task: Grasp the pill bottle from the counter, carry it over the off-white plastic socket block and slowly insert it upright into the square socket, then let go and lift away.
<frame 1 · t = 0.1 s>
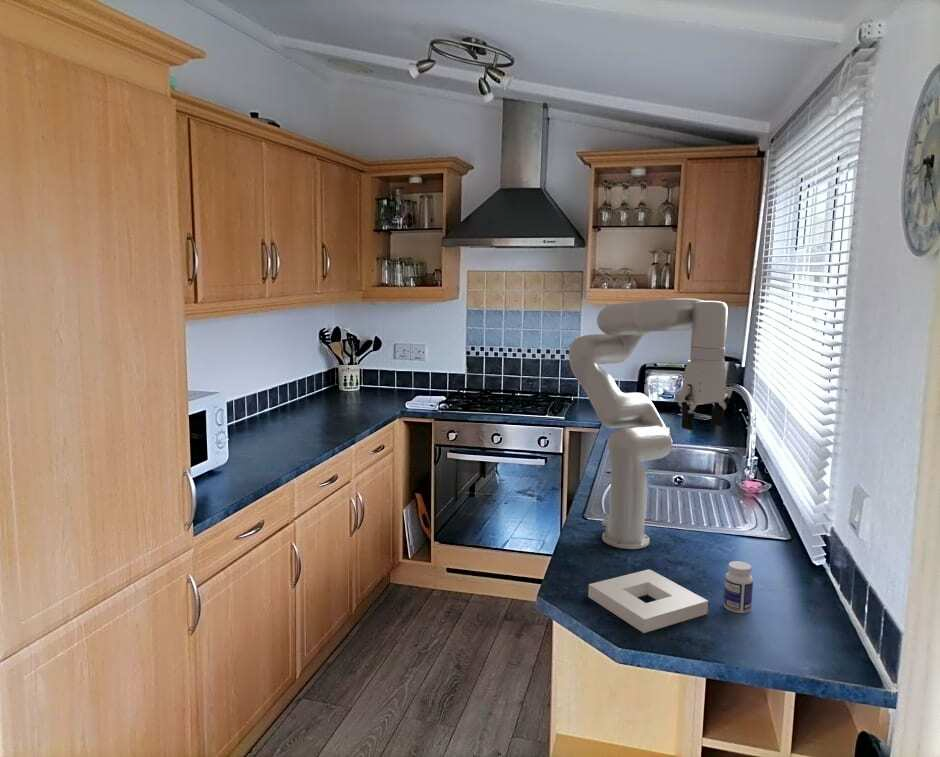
hand: (702, 427, 166), 37 cm above the worktop, fingers open, 9 cm apart
pill bottle: (736, 608, 155), on the worktop
socket block: (646, 605, 156), on the worktop
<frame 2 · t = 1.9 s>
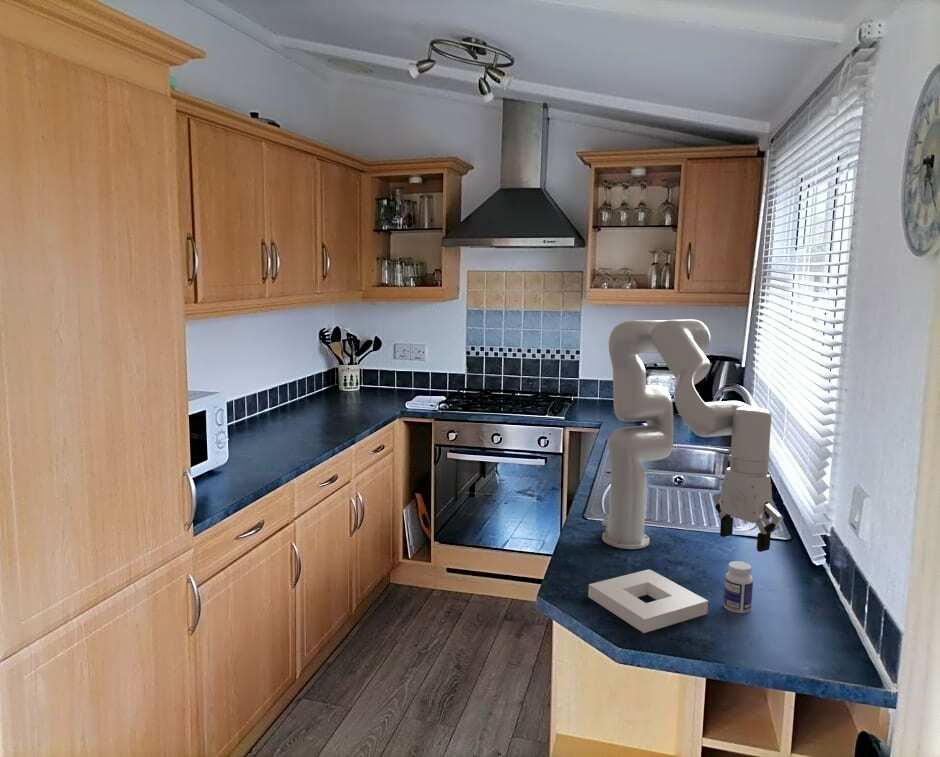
hand: (744, 542, 152), 15 cm above the worktop, fingers open, 9 cm apart
nothing on the worktop moved.
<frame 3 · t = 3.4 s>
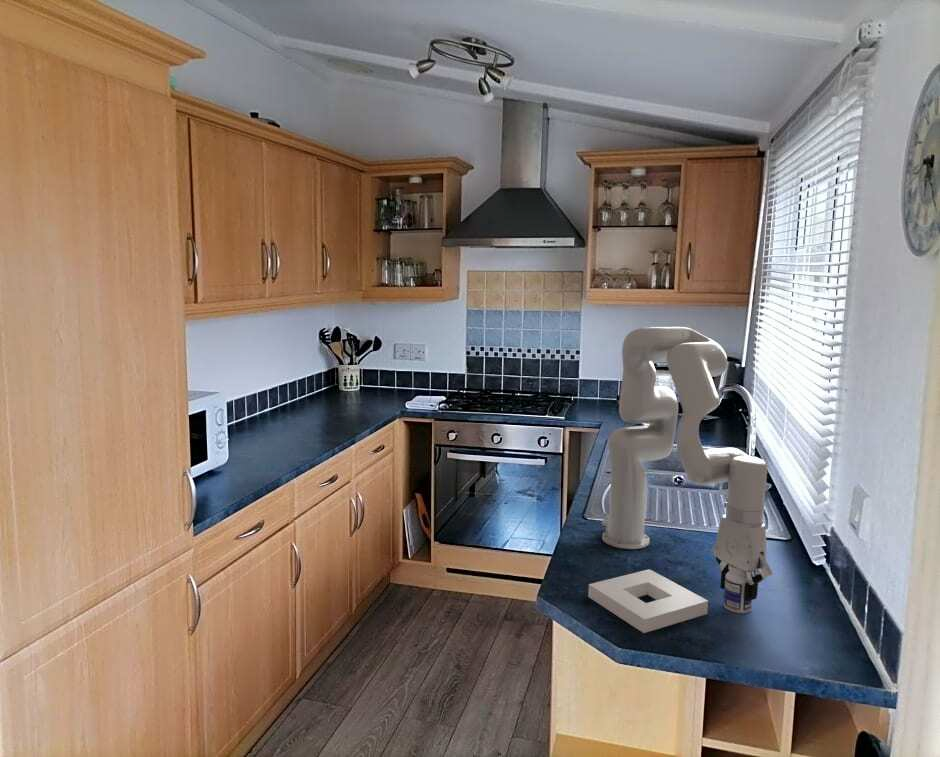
hand: (738, 592, 155), 4 cm above the worktop, fingers closed on pill bottle, 5 cm apart
pill bottle: (736, 608, 155), on the worktop, touching gripper
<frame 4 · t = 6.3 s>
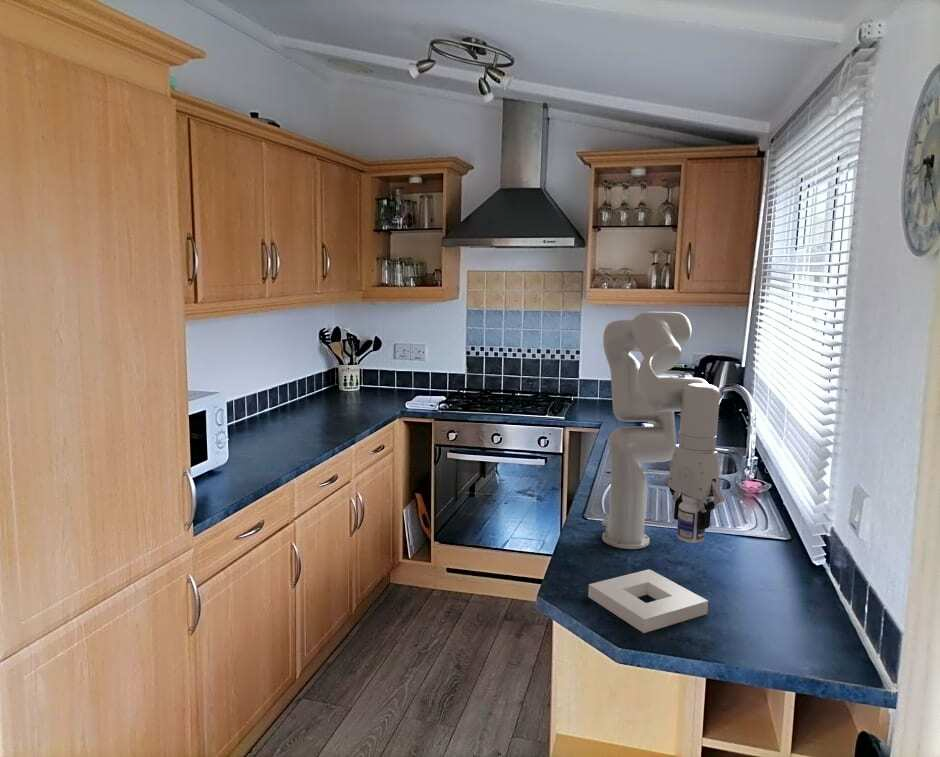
hand: (691, 522, 153), 19 cm above the worktop, fingers closed on pill bottle, 5 cm apart
pill bottle: (690, 539, 153), point 15 cm above the worktop, touching gripper
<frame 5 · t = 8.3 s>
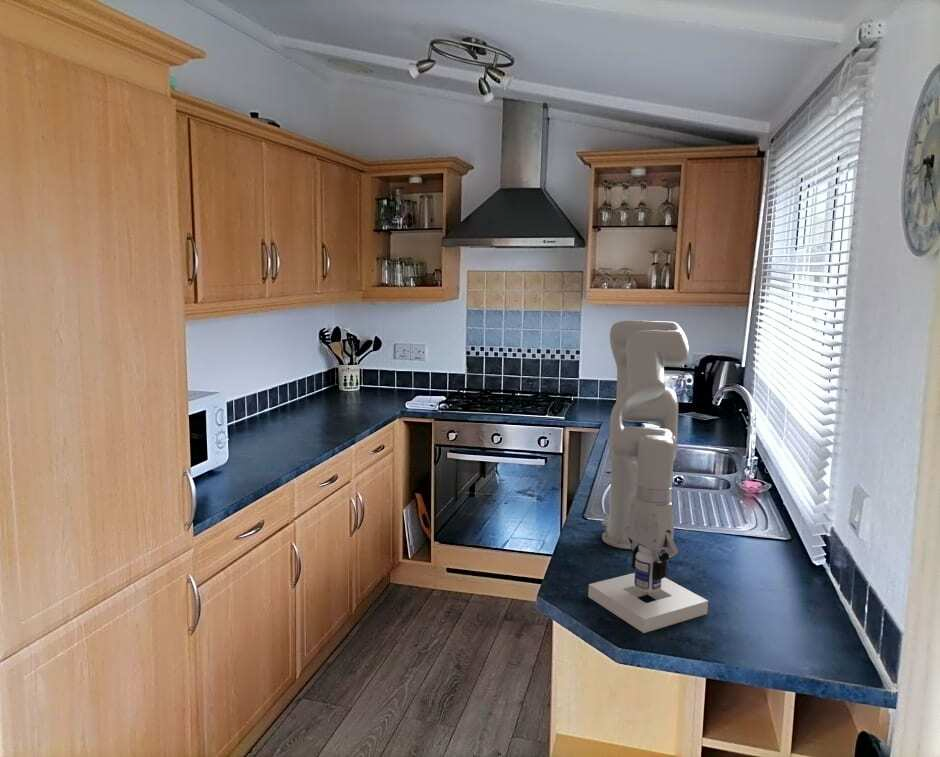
hand: (648, 572, 155), 8 cm above the worktop, fingers closed on pill bottle, 5 cm apart
pill bottle: (647, 588, 155), point 4 cm above the worktop, touching gripper
when the fingers open (4 cm above the worktop, at t = 9.5 s): pill bottle stays where it is, resting in socket block.
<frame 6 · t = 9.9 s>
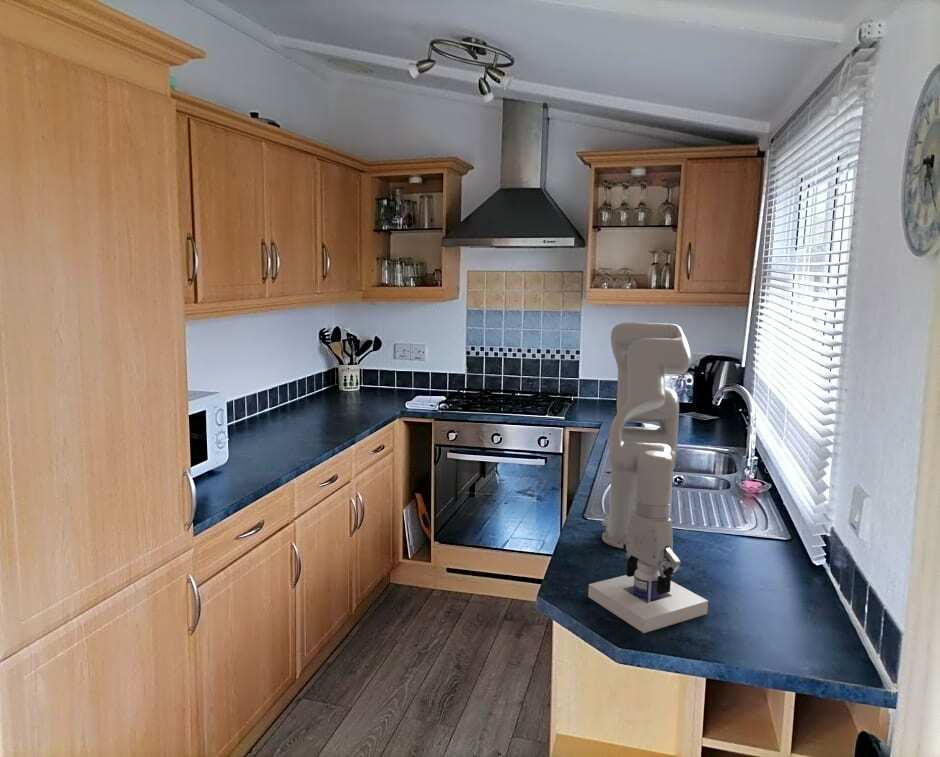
hand: (647, 583, 155), 5 cm above the worktop, fingers open, 9 cm apart
pill bottle: (645, 605, 156), resting in socket block
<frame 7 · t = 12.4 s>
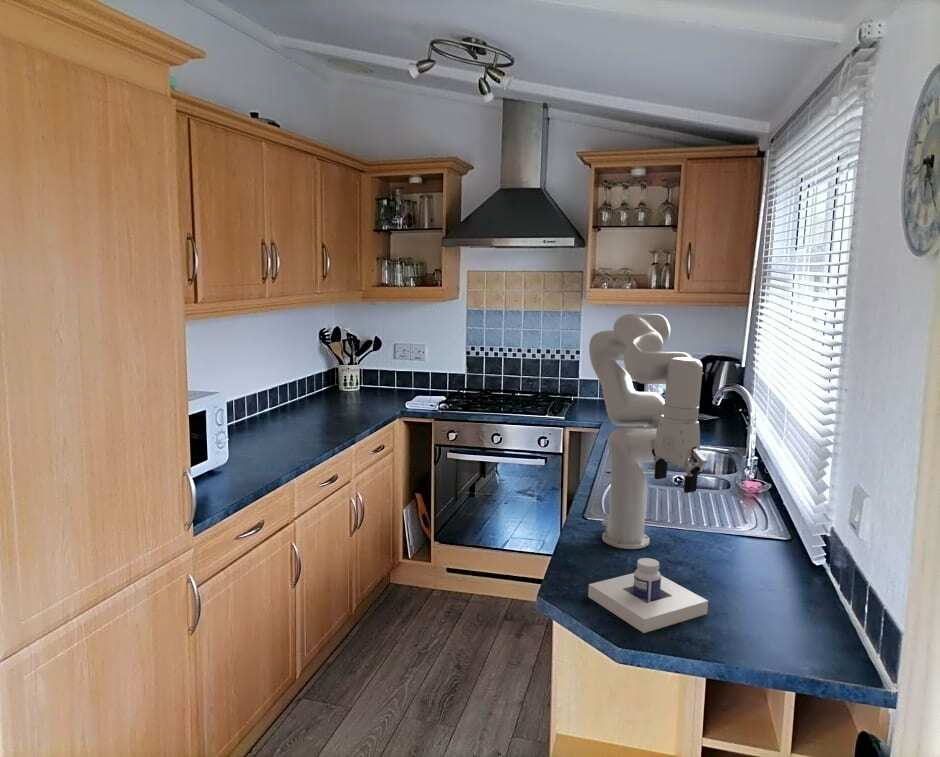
hand: (674, 484, 163), 24 cm above the worktop, fingers open, 9 cm apart
nothing on the worktop moved.
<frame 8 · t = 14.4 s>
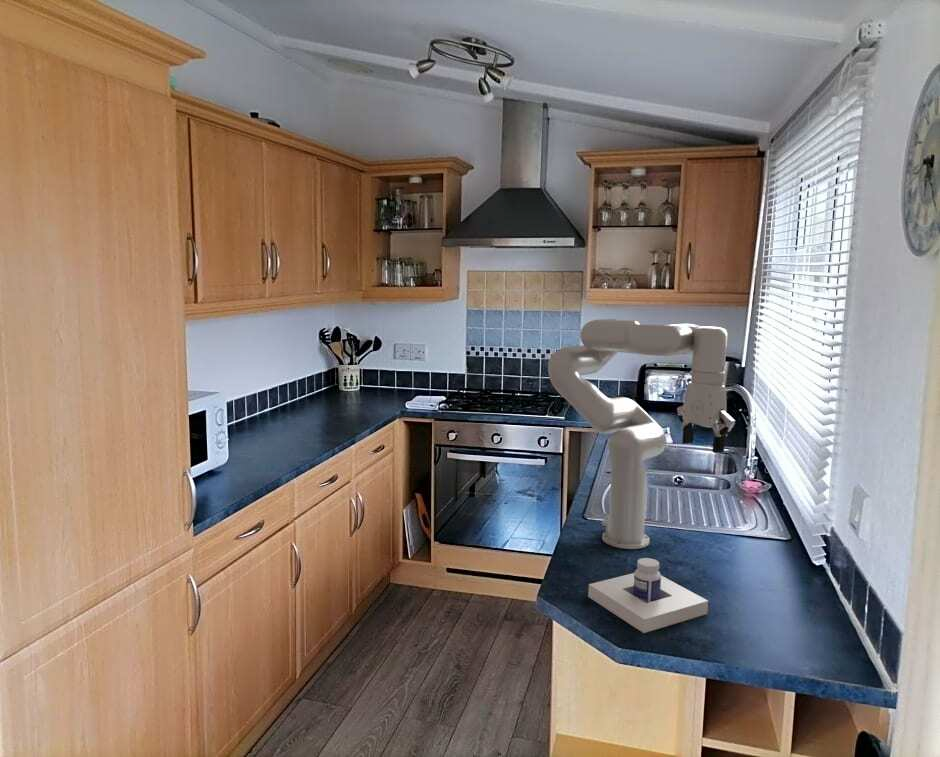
hand: (702, 447, 173), 30 cm above the worktop, fingers open, 9 cm apart
nothing on the worktop moved.
at the end: pill bottle 0.2 cm off-centre on the socket block, point 0.0 cm above the socket block's base; pill bottle tilted 0°; the gripper is holding nothing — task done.
